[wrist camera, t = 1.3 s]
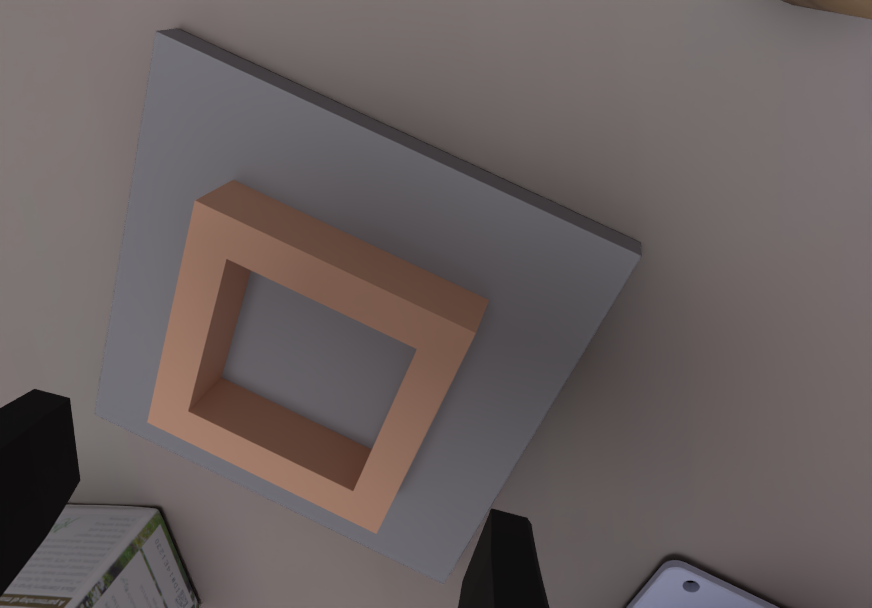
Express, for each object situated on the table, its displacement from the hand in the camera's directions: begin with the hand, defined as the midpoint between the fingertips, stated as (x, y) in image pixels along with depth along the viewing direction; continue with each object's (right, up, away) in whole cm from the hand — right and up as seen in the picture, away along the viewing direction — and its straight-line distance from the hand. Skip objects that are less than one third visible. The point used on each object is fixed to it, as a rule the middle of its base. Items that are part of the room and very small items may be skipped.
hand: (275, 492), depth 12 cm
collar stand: (-1, +2, +10) cm, 11 cm away
